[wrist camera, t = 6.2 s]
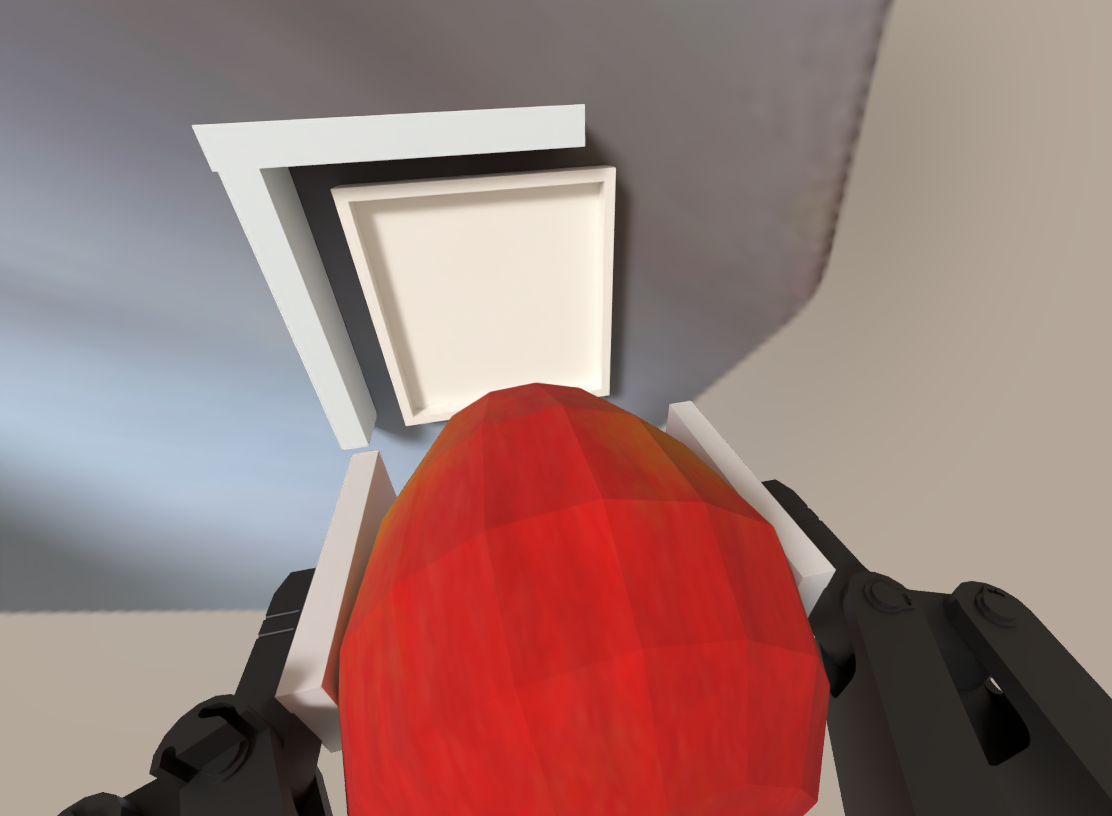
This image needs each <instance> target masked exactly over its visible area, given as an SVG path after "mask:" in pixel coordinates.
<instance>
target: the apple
mask: <svg viewBox="0 0 1112 816" xmlns="http://www.w3.org/2000/svg"><path fill="white" fill-rule="evenodd" d="M829 690H830V684H829V681H828V678H827V675H826V672H825V669H824V666H823V663H822V660H821V657H820V654H819V651H818V648H817V645H816V641H815V638H814V635H813V632H812V629H811V626H810V623H809V620H808V617H807V614H806V611H805V608H804V605H803V602H802V599H801V596H800V593H799V590H798V587H797V584H796V581H795V578H794V575H793V572H792V570H791V567H790V565H789V562H788V560H787V557H786V555H785V553H784V550H783V548H782V545H781V543H780V540H779V538H778V536H777V533H776V531H775V528H774V526H773V525H771V524H770V523H769V522H768V521H767V520H766V519H765V518H764V517H763V516H762V515H761V514H760V513H758V512H757V511H756V510H755V509H754V508H753V507H752V506H751V505H750V504H749V503H748V502H747V501H746V500H744V499H743V498H742V497H741V496H740V495H739V494H738V493H737V492H736V491H735V490H734V489H733V488H731V487H730V486H729V485H728V484H727V483H726V482H725V481H724V480H723V479H722V478H721V477H720V476H719V475H717V474H716V473H715V472H714V471H713V470H712V469H711V468H710V467H709V466H708V465H707V464H706V463H704V462H703V461H702V460H701V459H700V458H699V457H698V456H697V455H696V454H695V453H694V452H693V451H692V450H690V449H689V448H688V447H687V446H686V445H685V444H684V443H682V442H680V441H678V440H677V439H675V438H673V437H672V436H670V435H668V434H666V433H665V432H663V431H661V430H659V429H658V428H656V427H654V426H653V425H651V424H649V423H647V422H646V421H644V420H642V419H640V418H639V417H637V416H635V415H633V414H631V413H629V412H627V411H625V410H623V409H621V408H620V407H618V406H616V405H614V404H612V403H610V402H608V401H606V400H603V399H601V398H599V397H597V396H595V395H593V394H591V393H589V392H587V391H585V390H583V389H581V388H578V387H570V386H562V385H554V384H545V383H537V382H535V383H530V384H526V385H521V386H516V387H511V388H506V389H501V390H496V391H491V392H489V393H487V394H486V395H484V396H483V397H481V398H479V399H478V400H476V401H475V402H473V403H472V404H470V405H468V406H467V407H465V408H464V409H462V410H461V411H459V412H457V413H456V414H454V415H453V416H452V417H451V418H450V420H449V421H448V423H447V424H446V426H445V427H444V428H443V430H442V431H441V433H440V434H439V436H438V437H437V439H436V440H435V442H434V443H433V445H432V446H431V448H430V449H429V451H428V452H427V454H426V455H425V457H424V458H423V460H422V461H421V463H420V464H419V466H418V467H417V469H416V470H415V472H414V473H413V475H412V476H411V478H410V479H409V480H408V482H407V483H406V485H405V486H404V488H403V489H402V491H401V492H400V494H399V495H398V497H397V498H396V500H395V501H394V503H393V504H392V506H391V507H390V509H389V510H388V512H387V513H386V515H385V516H384V518H383V519H382V521H381V524H380V528H379V531H378V534H377V537H376V540H375V543H374V546H373V549H372V552H371V555H370V558H369V561H368V565H367V568H366V571H365V574H364V577H363V580H362V583H361V586H360V589H359V592H358V595H357V598H356V602H355V605H354V608H353V611H352V614H351V617H350V620H349V623H348V626H347V629H346V632H345V636H344V639H343V642H342V645H341V648H340V666H339V693H338V703H339V718H340V730H341V742H342V753H343V766H344V778H345V791H346V802H347V814H348V816H804V815H805V814H806V813H807V812H808V811H809V810H810V809H811V808H812V807H813V806H814V805H815V804H816V803H817V801H818V792H819V783H820V774H821V765H822V754H823V746H824V737H825V727H826V718H827V709H828V700H829Z"/></svg>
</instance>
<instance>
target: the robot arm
mask: <svg viewBox="0 0 1112 816" xmlns="http://www.w3.org/2000/svg"><path fill="white" fill-rule="evenodd" d="M666 434H668V435H670V436H672V437H673V438H675V439H677V440H678V441H680V442H682V443H684V444H685V445H686V446H687V447H688V448H689V449H690V450H692V451H693V452H694V453H695V454H696V455H697V456H698V457H699V458H700V459H701V460H702V461H703V462H704V463H706V464H707V465H708V466H709V467H710V468H711V469H712V470H713V471H714V472H715V473H716V474H717V475H719V476H720V477H721V478H722V479H723V480H724V481H725V482H726V483H727V484H728V485H729V486H730V487H731V488H733V489H734V490H735V491H736V492H737V493H738V494H739V495H740V496H741V497H742V498H743V499H744V500H746V501H747V502H748V503H749V504H750V505H751V506H752V507H753V508H754V509H755V510H756V511H757V512H758V513H760V514H761V515H762V516H763V517H764V518H765V519H766V520H767V521H768V522H769V523H770V524H771V525H773V526H774V528H775V531H776V533H777V536H778V538H779V540H780V543H781V545H782V548H783V550H784V553H785V555H786V557H787V560H788V562H789V565H790V567H791V570H792V572H793V575H794V578H795V581H796V584H797V587H798V590H799V593H800V596H801V599H802V602H803V605H804V608H805V611H806V614H807V617H808V620H809V623H810V626H811V629H812V632H813V635H814V636H815V641H816V645H817V648H818V651H819V654H820V657H821V660H822V663H823V666H824V669H825V672H826V675H827V678H828V681H829V684H830V690H829V700H828V709H827V718H826V720H827V725H828V731H829V736H830V740H831V746H832V751H833V756H834V761H835V766H836V771H837V776H838V781H839V787H840V792H841V797H842V802H843V807H844V812H845V816H1112V699H1111V698H1110V697H1109V696H1108V694H1107V693H1106V692H1105V691H1104V690H1103V689H1102V688H1101V687H1100V686H1099V685H1098V683H1097V682H1096V681H1095V680H1094V679H1093V678H1092V677H1091V676H1090V675H1089V674H1088V673H1087V672H1086V670H1085V669H1084V668H1083V667H1082V666H1081V665H1080V664H1079V663H1078V662H1077V661H1076V659H1075V658H1074V657H1073V656H1072V655H1071V654H1070V653H1069V652H1068V651H1067V650H1066V649H1065V647H1064V646H1063V645H1062V644H1061V643H1060V642H1059V641H1058V640H1057V639H1056V638H1055V637H1054V635H1053V634H1052V633H1051V632H1050V631H1049V630H1048V629H1047V628H1046V627H1045V626H1044V625H1043V624H1042V622H1041V621H1040V620H1039V619H1038V618H1037V617H1036V616H1035V615H1034V614H1033V613H1032V611H1031V610H1029V609H1028V608H1027V607H1026V606H1025V605H1023V603H1021V602H1020V601H1019V600H1018V599H1017V598H1015V597H1013V596H1012V595H1010V594H1008V593H1007V592H1005V591H1003V590H1001V589H999V588H997V587H994V586H992V585H989V584H986V583H981V582H975V581H969V582H963V583H961V584H960V585H959V586H958V587H957V588H956V589H955V590H954V592H953V593H952V594H945V593H935V592H925V591H916V590H909V589H906V588H905V587H904V586H903V585H902V584H900V583H898V582H897V581H895V580H893V579H891V578H890V577H888V576H885V575H882V574H879V573H876V572H870V571H869V570H868V569H866V568H865V567H864V566H863V565H862V564H861V563H860V562H859V560H858V559H857V558H856V557H855V556H854V555H853V554H852V553H851V552H850V551H849V550H848V549H847V548H846V546H845V545H844V544H843V543H842V542H841V541H840V540H839V539H838V538H837V537H836V536H835V535H834V534H833V532H831V530H830V529H829V528H828V527H827V526H826V525H825V524H824V523H823V522H822V521H820V520H819V519H818V516H817V515H816V514H815V513H814V512H813V511H812V510H811V509H809V508H808V507H807V505H806V504H805V502H804V501H803V500H802V499H801V498H800V497H799V496H798V495H797V494H796V493H795V492H794V491H793V490H792V489H790V488H788V487H787V486H785V485H784V484H782V483H780V482H779V481H777V480H770V481H765V482H760V481H759V480H758V479H757V477H756V476H755V475H754V474H753V473H752V472H751V471H750V469H749V468H748V467H747V466H746V465H745V464H744V462H743V461H742V460H741V459H740V458H739V456H738V455H737V454H736V453H735V452H734V451H733V450H732V448H731V447H730V446H729V445H728V444H727V442H726V441H725V440H724V439H723V438H722V437H721V436H720V434H719V433H718V432H717V431H716V430H715V428H714V427H713V426H712V425H711V424H710V423H709V421H708V420H707V419H706V418H705V417H704V416H703V415H702V414H701V412H700V411H699V410H698V409H697V407H696V406H695V405H694V404H693V403H692V402H691V401H687V402H680V403H674V404H670V405H669V413H668V421H667V429H666ZM396 498H397V497H396V494H395V491H394V489H393V486H392V484H391V481H390V478H389V476H388V473H387V470H386V468H385V465H384V463H383V460H382V457H381V455H380V452H379V450H375V451H369V452H363V453H356V454H353V455H352V458H351V461H350V464H349V467H348V470H347V473H346V476H345V480H344V483H343V486H342V489H341V492H340V495H339V498H338V501H337V505H336V508H335V511H334V514H333V517H332V520H331V523H330V526H329V529H328V533H327V536H326V539H325V542H324V545H323V548H322V551H321V554H320V558H319V561H318V564H317V567H316V568H312V569H307V570H302V571H296V572H291V573H290V574H289V576H288V577H287V578H286V579H285V581H284V582H283V583H282V584H281V586H280V587H279V588H278V590H277V591H276V592H275V593H274V596H273V598H272V601H271V603H270V606H269V608H268V611H267V614H266V620H264V621H263V624H262V626H261V629H260V631H259V638H258V639H256V642H255V644H254V647H253V649H252V652H251V655H250V657H249V659H248V662H247V664H246V667H245V670H244V672H243V675H242V677H241V680H240V682H239V685H238V687H237V690H236V693H235V695H232V694H228V695H220V696H215V697H212V698H210V699H208V700H206V701H204V702H202V703H200V704H198V705H196V706H195V707H194V708H193V709H191V710H190V711H189V712H187V713H186V714H185V715H183V716H182V717H181V718H180V719H179V720H178V721H177V722H176V723H175V725H174V726H173V727H172V728H171V729H170V730H169V731H168V733H167V734H166V735H165V736H164V738H163V740H162V742H161V743H160V745H159V747H158V749H157V750H156V752H155V754H154V755H153V760H152V765H151V769H150V773H149V774H151V775H153V776H154V777H157V779H155V780H154V781H152V782H150V783H148V784H146V785H144V786H143V787H141V788H139V789H137V790H136V791H134V792H132V793H130V794H128V795H127V796H125V797H123V798H121V797H119V796H117V795H114V794H109V793H104V792H102V793H99V794H95V795H92V796H88V797H85V798H83V799H82V800H80V801H78V802H76V803H75V804H73V805H72V806H70V807H68V808H67V809H65V810H63V811H62V812H61V813H60V814H59V815H58V816H333V815H332V811H331V807H330V803H329V799H328V796H327V792H326V788H325V784H324V780H323V776H322V774H321V772H320V770H319V768H318V767H317V762H318V757H319V753H320V748H321V744H323V745H324V746H325V747H326V748H327V749H328V750H329V751H330V752H331V753H332V752H336V751H340V750H342V742H341V730H340V718H339V703H338V693H339V666H340V648H341V645H342V642H343V639H344V636H345V632H346V629H347V626H348V623H349V620H350V617H351V614H352V611H353V608H354V605H355V602H356V598H357V595H358V592H359V589H360V586H361V583H362V580H363V577H364V574H365V571H366V568H367V565H368V561H369V558H370V555H371V552H372V549H373V546H374V543H375V540H376V537H377V534H378V531H379V528H380V524H381V521H382V519H383V518H384V516H385V515H386V513H387V512H388V510H389V509H390V507H391V506H392V504H393V503H394V501H395V500H396ZM991 678H993V679H994V681H995V682H996V683H997V685H998V686H999V687H1000V689H1001V690H1002V691H1001V690H999V689H998V688H997V687H996V686H995V685H994V684H993V683H992V681H991V680H990V679H991Z"/></svg>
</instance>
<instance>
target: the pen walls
mask: <svg viewBox="0 0 1112 816" xmlns="http://www.w3.org/2000/svg"><path fill="white" fill-rule="evenodd" d="M192 128H193V130H194V132H195V134H196V136H197V139H198V141H199V143H200V145H201V147H202V150H203V152H204V154H205V156H206V159H207V161H208V163H209V165H210V167H211V170H212V172H216V171H218V173H219V175H220V178H221V180H222V182H223V184H224V187H225V189H226V191H227V193H228V196H229V198H230V200H231V202H232V204H233V207H234V209H235V211H236V213H237V216H238V218H239V220H240V222H241V225H242V227H243V229H244V231H245V234H246V236H247V238H248V240H249V243H250V245H251V247H252V249H253V252H254V254H255V256H256V258H257V261H258V263H259V265H260V267H261V269H262V272H263V274H264V276H265V278H266V281H267V283H268V285H269V287H270V290H271V292H272V294H273V296H274V299H275V301H276V303H277V305H278V308H279V310H280V312H281V314H282V317H283V319H284V321H285V323H286V325H287V328H288V330H289V332H290V334H291V337H292V339H293V341H294V343H295V346H296V348H297V350H298V352H299V355H300V357H301V359H302V361H303V364H304V366H305V368H306V370H307V373H308V375H309V377H310V379H311V382H312V384H313V386H314V388H315V390H316V393H317V395H318V397H319V399H320V402H321V404H322V406H323V408H324V411H325V413H326V415H327V417H328V420H329V422H330V424H331V426H332V429H333V431H334V433H335V435H336V438H337V440H338V442H339V444H340V446H341V449H342V450H346V449H353V448H359V447H365V446H369V443H370V440H371V436H372V432H373V429H374V425H375V421H376V418H377V413H376V410H375V407H374V404H373V402H372V399H371V396H370V393H369V390H368V388H367V385H366V382H365V379H364V377H363V374H362V371H361V368H360V365H359V363H358V360H357V357H356V354H355V352H354V349H353V346H352V343H351V341H350V338H349V335H348V332H347V329H346V327H345V324H344V321H343V318H342V316H341V313H340V310H339V307H338V304H337V302H336V299H335V296H334V293H333V291H332V288H331V285H330V282H329V280H328V277H327V274H326V271H325V268H324V266H323V263H322V260H321V257H320V255H319V252H318V249H317V246H316V243H315V241H314V238H313V235H312V232H311V230H310V227H309V224H308V221H307V219H306V216H305V213H304V210H303V207H302V205H301V202H300V199H299V196H298V194H297V191H296V188H295V185H294V182H293V180H292V177H291V174H290V171H289V169H288V167H290V166H305V165H319V164H334V163H349V162H364V161H378V160H393V159H408V158H422V157H437V156H452V155H467V154H481V153H496V152H511V151H526V150H540V149H555V148H570V147H585V104H579V105H561V106H542V107H523V108H505V109H486V110H467V111H449V112H430V113H411V114H393V115H374V116H355V117H337V118H318V119H299V120H280V121H262V122H243V123H224V124H206V125H192Z"/></svg>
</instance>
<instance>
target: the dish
mask: <svg viewBox="0 0 1112 816" xmlns="http://www.w3.org/2000/svg"><path fill="white" fill-rule="evenodd" d="M615 180H616V167H612V166H608V165H599V166H586V167H572V168H559V169H546V170H532V171H519V172H505V173H492V174H479V175H465V176H452V177H438V178H425V179H412V180H398V181H385V182H371V183H358V184H344V185H338V186H336V187H334V188H332V189H331V192H332V195H333V198H334V201H335V205H336V208H337V211H338V214H339V217H340V220H341V223H342V227H343V230H344V233H345V236H346V239H347V242H348V245H349V249H350V252H351V255H352V258H353V261H354V264H355V267H356V271H357V274H358V277H359V280H360V283H361V286H362V289H363V293H364V296H365V299H366V302H367V305H368V308H369V311H370V315H371V318H372V321H373V324H374V327H375V330H376V333H377V337H378V340H379V343H380V346H381V349H382V352H383V355H384V359H385V362H386V365H387V368H388V371H389V374H390V377H391V381H392V384H393V387H394V390H395V393H396V396H397V399H398V403H399V406H400V409H401V412H402V415H403V418H404V421H405V425H406V426H411V425H417V424H424V423H430V422H437V421H443V420H450V418H451V417H452V416H453V415H454V414H456V413H457V412H459V411H461V410H462V409H464V408H465V407H467V406H468V405H470V404H472V403H473V402H475V401H476V400H478V399H479V398H481V397H483V396H484V395H486V394H487V393H489V392H491V391H496V390H501V389H506V388H511V387H516V386H521V385H526V384H530V383H535V382H537V383H545V384H554V385H562V386H570V387H578V388H581V389H583V390H585V391H587V392H589V393H591V394H593V395H595V396H597V397H600V396H607V395H609V388H610V353H611V319H612V284H613V249H614V215H615Z"/></svg>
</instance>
